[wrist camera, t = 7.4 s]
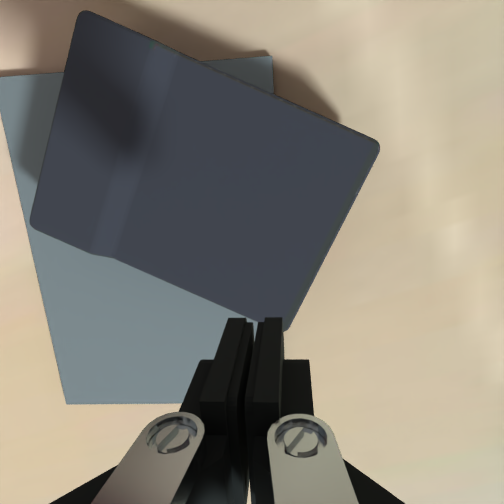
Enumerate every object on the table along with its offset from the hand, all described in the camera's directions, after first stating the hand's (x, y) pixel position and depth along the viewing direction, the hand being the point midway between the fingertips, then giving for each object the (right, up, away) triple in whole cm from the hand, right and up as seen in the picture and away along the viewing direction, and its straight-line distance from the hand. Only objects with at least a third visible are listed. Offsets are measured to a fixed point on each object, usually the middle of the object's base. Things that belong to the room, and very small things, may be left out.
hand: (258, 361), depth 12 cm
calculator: (+4, +4, +9) cm, 11 cm away
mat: (-6, +3, +13) cm, 15 cm away
